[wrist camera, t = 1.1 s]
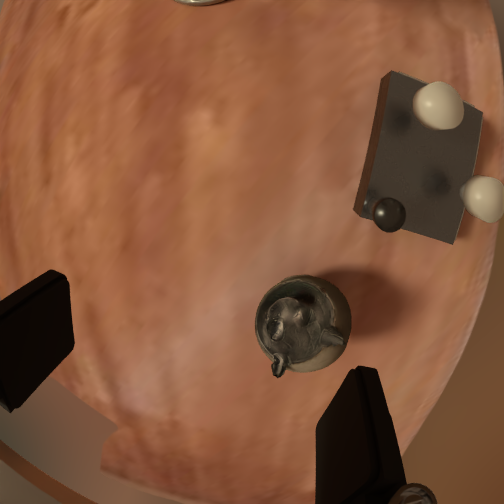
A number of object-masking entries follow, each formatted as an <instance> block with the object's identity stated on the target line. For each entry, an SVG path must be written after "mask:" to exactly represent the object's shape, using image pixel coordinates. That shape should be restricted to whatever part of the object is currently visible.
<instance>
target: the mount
mask: <svg viewBox="0 0 504 504" xmlns="http://www.w3.org/2000/svg"><path fill="white" fill-rule="evenodd" d="M427 85H429V83H426V82H424V81H422V80H419V79H417V78H414V77H412V76H409V75H407V74H404V73H402V72H398V73H397V72H394V71H392V70H391V71H390V72H389V73H388V74H386V75H385V76H384V77H383V78H381V83H380V89H379V94H378V100H377V106H376V111H375V116H374V121H373V126H372V131H371V136H370V141H369V146H368V150H367V155H366V159H365V163H364V168H363V172H362V176H361V180H360V184H359V188H358V192H357V196H356V200H355V204H354V208H353V210H354V211H355V212H356V213H357V214H358V215H359V216H360V217H362V218H366V219H370V220H373V217H372V214H371V213H370V212H369V209H368V204H369V202H370V200H371V199H372V198H374V197H381V198H385V197H391V198H394V199H396V200H398V201H399V202H401V203H402V205H403V206H404V208H405V211H406V219H405V222H404V224H403V226H402V227H401V229H404V230H408V231H411V232H414V233H418V234H421V235H424V236H427V237H430V238H434V239H437V240H440V241H443V242H446V243H449V244H452V245H453V243H454V240H456V237H457V234H458V231H459V227H460V224H461V221H462V217H463V214H464V210H465V206H464V203H463V202H462V201H461V199H460V188H461V186H462V184H463V183H464V182H466V181H468V180H469V179H470V178H471V177H473V174H474V169H475V164H476V159H477V154H478V148H479V142H480V136H481V129H482V122H483V117H482V114H483V112H481V111H480V110H478V109H476V108H474V105H472V104H470V103H468V102H466V101H464V100H462V102H463V106H464V116H463V119H462V121H461V123H460V124H459V125H458V126H457V127H455V128H453V129H445V130H431V129H428V128H426V127H425V126H423V125H422V124H421V123H420V122H419V120H418V119H417V118H416V117H415V115H414V113H413V97H414V95H415V93H416V92H417V91H418V90H419V89H420V88H422V87H424V86H427Z"/></svg>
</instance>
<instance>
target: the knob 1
mask: <svg viewBox="0 0 504 504" xmlns="http://www.w3.org/2000/svg"><path fill="white" fill-rule="evenodd" d="M413 113H414V115H415V117H416V118H417V119H418V120H419V122H420V123H421V124H422V125H423V126H425V127H426V128H428V129H431V130H445V129H453V128H455V127H457V126H458V125H459V124H460V123H461V121H462V119H463V116H464V106H463V102H462V99H461V97H460V95H459V94H458V92H457V91H456V90H455V89H454V88H453V87H452V86H450V85H449V84H447V83H445V82H433V83H431V84H429V85H427V86H424V87H422V88H420V89H419V90H418V91H417V92H416V93H415V95H414V97H413Z"/></svg>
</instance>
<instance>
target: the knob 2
mask: <svg viewBox="0 0 504 504" xmlns="http://www.w3.org/2000/svg"><path fill="white" fill-rule="evenodd" d="M460 199H461V201H462V202H463V203H464V206H465V208H466V210H467V211H468V213H469V214H471V215H472V216H474V217H476V218H479V219H481V220H483V221H485V222H488V223H494V222H496V221H498V220H499V219H500V218H501V217H502V216H503V214H504V185H503V184H502V183H501V182H500V181H499V180H498V179H496V178H492V177H487V176H482V175H475V176H473V177H471V178H470V179H469V180H468V181H466V182H464V183H463V184H462V186H461V188H460Z"/></svg>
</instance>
